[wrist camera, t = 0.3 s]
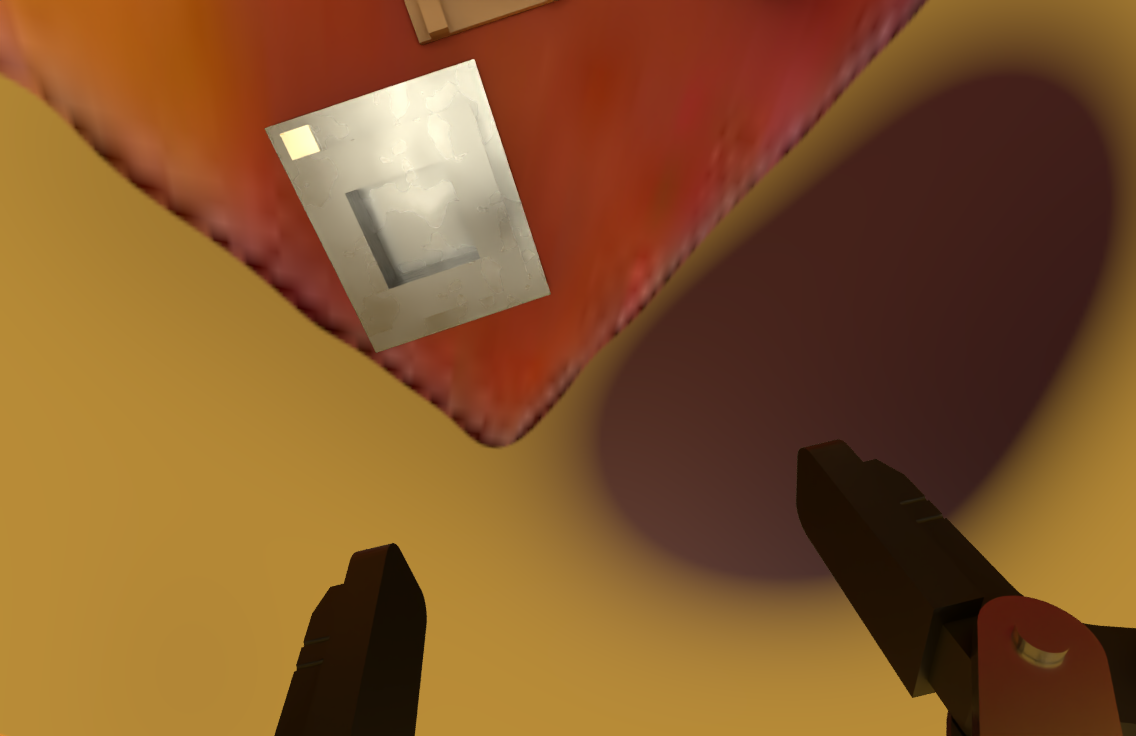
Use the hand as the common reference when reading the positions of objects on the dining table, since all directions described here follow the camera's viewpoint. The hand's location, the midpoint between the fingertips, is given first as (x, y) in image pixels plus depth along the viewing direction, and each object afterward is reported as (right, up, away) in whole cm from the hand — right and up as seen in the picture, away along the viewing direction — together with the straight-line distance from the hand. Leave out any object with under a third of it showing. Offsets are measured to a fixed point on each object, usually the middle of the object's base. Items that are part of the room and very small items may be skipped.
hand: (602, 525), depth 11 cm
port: (-10, +12, +23) cm, 28 cm away
